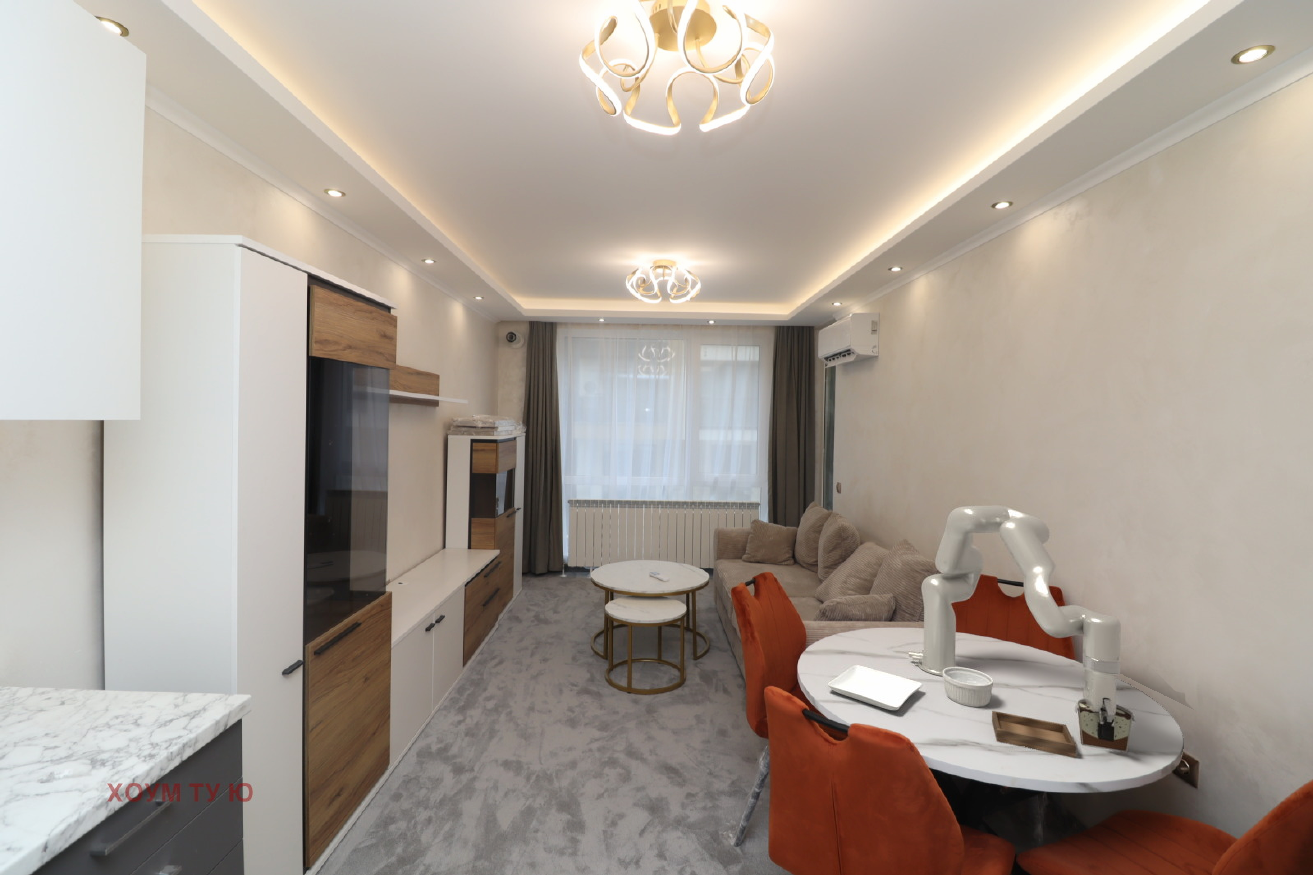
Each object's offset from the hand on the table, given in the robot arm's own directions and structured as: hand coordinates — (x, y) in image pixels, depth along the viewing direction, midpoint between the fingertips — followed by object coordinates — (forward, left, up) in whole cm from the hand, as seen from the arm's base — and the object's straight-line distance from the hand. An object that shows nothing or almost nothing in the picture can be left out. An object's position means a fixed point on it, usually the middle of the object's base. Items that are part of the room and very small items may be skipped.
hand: (1100, 730), depth 144 cm
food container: (0, 0, -3) cm, 3 cm away
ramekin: (-29, +12, -3) cm, 32 cm away
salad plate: (-54, +3, -4) cm, 54 cm away
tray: (-16, -6, -3) cm, 17 cm away
